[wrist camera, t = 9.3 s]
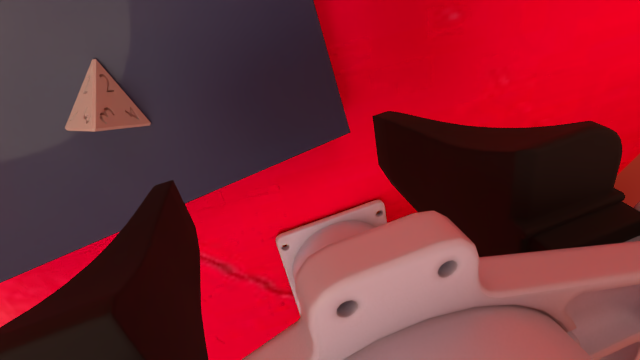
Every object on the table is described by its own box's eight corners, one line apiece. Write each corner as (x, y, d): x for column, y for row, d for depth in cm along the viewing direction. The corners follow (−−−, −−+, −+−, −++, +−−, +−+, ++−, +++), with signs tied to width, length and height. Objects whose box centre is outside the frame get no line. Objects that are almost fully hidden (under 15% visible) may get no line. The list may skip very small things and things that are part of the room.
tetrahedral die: (129, 143, 19) (147, 178, 17) (64, 128, 17) (75, 167, 15) (158, 80, 18) (180, 111, 16) (92, 56, 16) (109, 89, 14)
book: (333, 114, 24) (350, 132, 22) (5, 253, 22) (-16, 289, 20) (243, -187, 16) (254, -209, 14) (-282, -14, 14) (-371, -6, 12)
